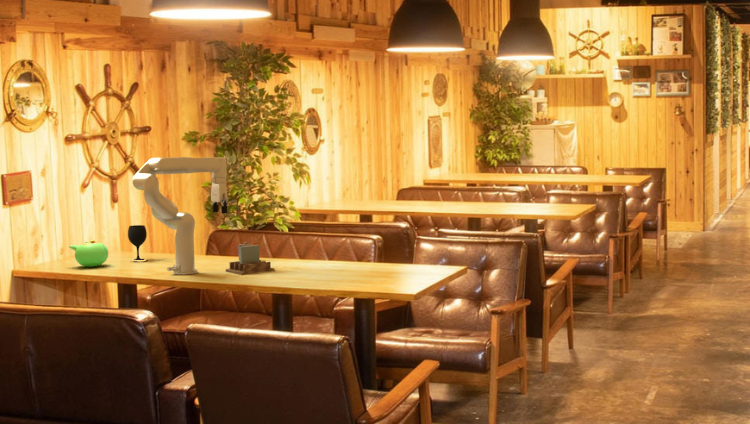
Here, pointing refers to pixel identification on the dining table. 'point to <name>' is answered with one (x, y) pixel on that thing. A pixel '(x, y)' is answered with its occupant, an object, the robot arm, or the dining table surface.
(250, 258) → the plate
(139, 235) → the wine glass
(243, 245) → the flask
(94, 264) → the green teapot
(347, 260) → the dining table surface
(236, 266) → the rack
